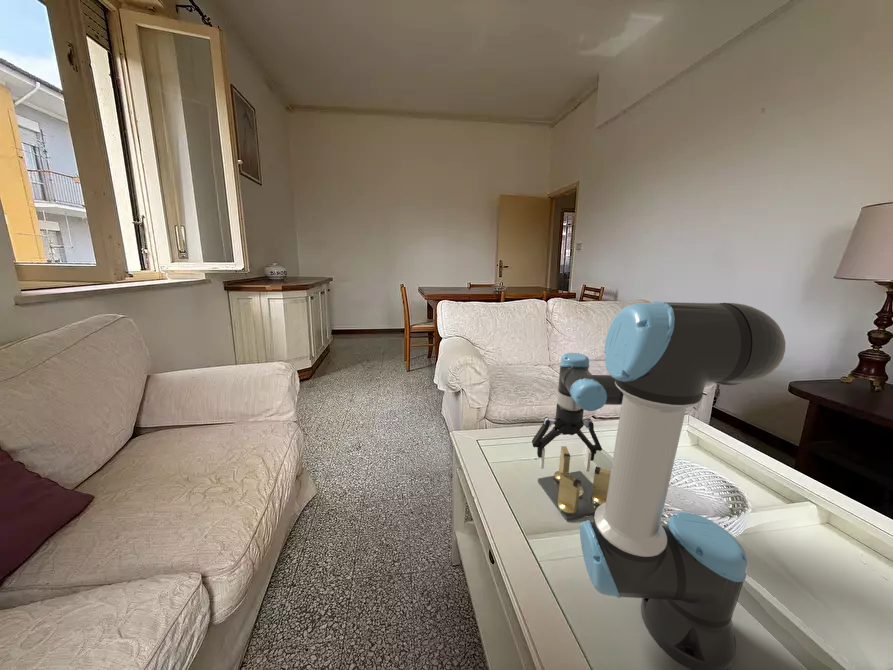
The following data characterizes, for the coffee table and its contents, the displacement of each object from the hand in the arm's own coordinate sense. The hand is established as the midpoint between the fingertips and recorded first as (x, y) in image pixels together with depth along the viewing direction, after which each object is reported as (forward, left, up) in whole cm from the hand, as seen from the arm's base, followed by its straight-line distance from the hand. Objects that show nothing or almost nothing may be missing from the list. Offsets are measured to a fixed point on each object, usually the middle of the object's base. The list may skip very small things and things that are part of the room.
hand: (563, 467), depth 106 cm
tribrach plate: (-6, 0, -5) cm, 8 cm away
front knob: (-11, +6, -4) cm, 13 cm away
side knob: (-11, -5, -4) cm, 13 cm away
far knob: (0, 0, -4) cm, 4 cm away
